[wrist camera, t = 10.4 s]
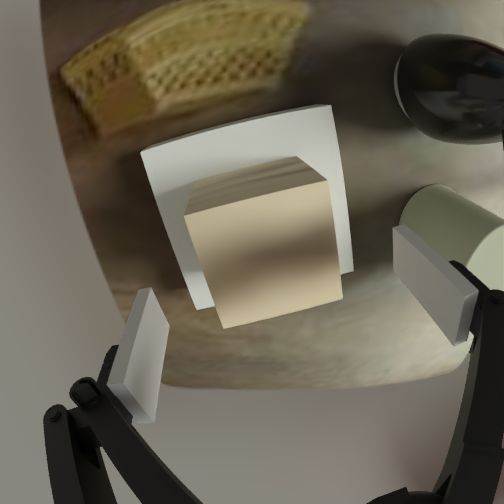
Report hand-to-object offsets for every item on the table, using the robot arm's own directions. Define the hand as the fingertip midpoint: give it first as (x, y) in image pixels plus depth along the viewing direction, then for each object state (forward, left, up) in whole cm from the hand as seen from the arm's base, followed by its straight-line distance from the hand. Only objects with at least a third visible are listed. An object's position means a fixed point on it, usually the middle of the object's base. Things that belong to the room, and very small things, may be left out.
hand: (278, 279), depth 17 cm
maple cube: (0, 0, -10) cm, 10 cm away
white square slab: (0, 0, -14) cm, 14 cm away
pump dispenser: (-8, +19, -15) cm, 25 cm away
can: (+7, +19, -15) cm, 25 cm away
